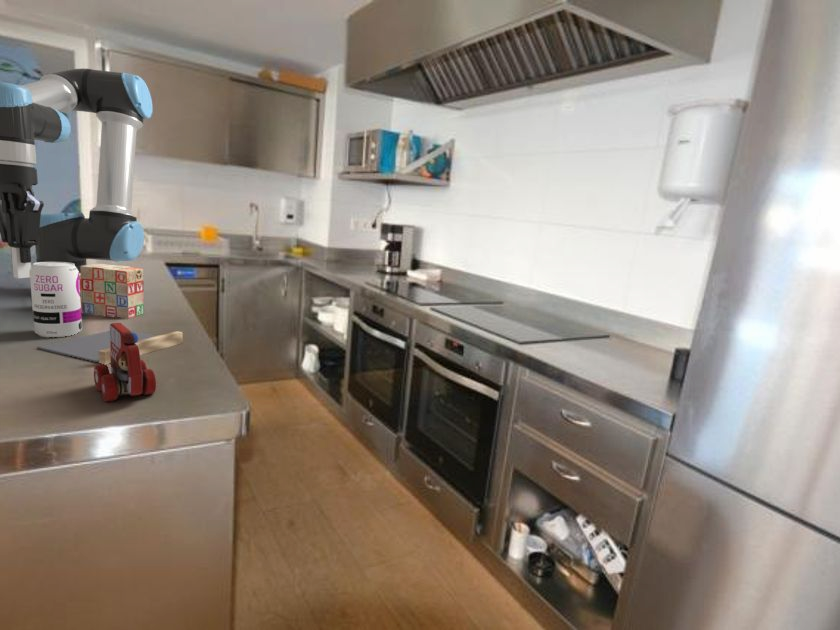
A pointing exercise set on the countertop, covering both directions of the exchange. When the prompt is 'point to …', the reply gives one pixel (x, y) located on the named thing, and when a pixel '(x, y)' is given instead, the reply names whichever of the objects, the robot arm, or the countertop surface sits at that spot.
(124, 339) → the toy fire truck
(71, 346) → the mat
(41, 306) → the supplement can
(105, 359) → the stop rail
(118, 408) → the countertop surface
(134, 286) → the stack of blocks
